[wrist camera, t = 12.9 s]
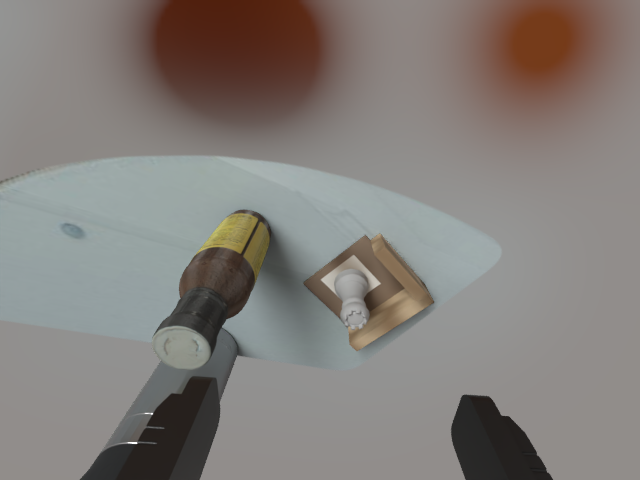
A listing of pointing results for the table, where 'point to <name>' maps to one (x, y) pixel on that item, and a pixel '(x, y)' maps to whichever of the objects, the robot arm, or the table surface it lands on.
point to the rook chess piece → (352, 297)
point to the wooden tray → (374, 288)
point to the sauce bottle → (213, 290)
